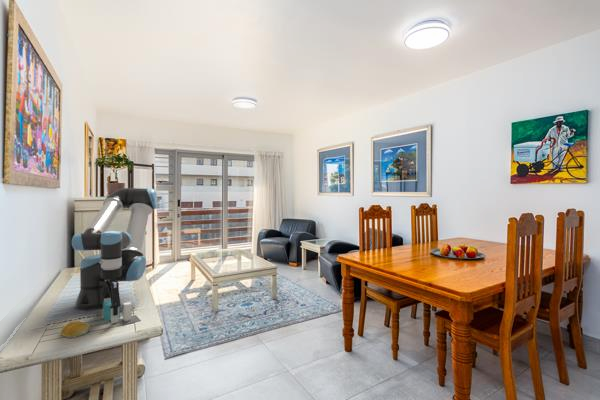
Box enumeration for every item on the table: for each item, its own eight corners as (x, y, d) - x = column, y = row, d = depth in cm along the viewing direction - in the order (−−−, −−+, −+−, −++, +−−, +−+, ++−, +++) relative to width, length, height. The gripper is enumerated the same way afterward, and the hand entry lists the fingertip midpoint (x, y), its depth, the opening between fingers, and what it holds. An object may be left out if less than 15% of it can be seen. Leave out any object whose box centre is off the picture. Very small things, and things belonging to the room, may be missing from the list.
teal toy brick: (102, 317, 128) (102, 302, 128) (116, 314, 132) (116, 299, 131) (105, 321, 124) (105, 305, 124) (119, 318, 128) (119, 302, 128)
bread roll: (72, 340, 109) (72, 329, 109) (56, 335, 112) (56, 325, 112) (95, 330, 117) (95, 320, 117) (80, 326, 120) (79, 316, 120)
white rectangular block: (122, 319, 126) (122, 303, 126) (129, 317, 128) (129, 301, 128) (124, 321, 124) (124, 305, 124) (131, 319, 126) (131, 303, 126)
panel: (118, 319, 126) (118, 319, 126) (135, 315, 131) (135, 314, 131) (123, 325, 121) (123, 324, 121) (140, 320, 126) (140, 320, 126)
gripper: (95, 263, 133) (95, 311, 134) (107, 275, 116) (107, 330, 116) (114, 261, 139) (114, 306, 139) (129, 272, 121) (128, 324, 121)
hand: (111, 317), depth 128 cm, fingers open, 12 cm apart
